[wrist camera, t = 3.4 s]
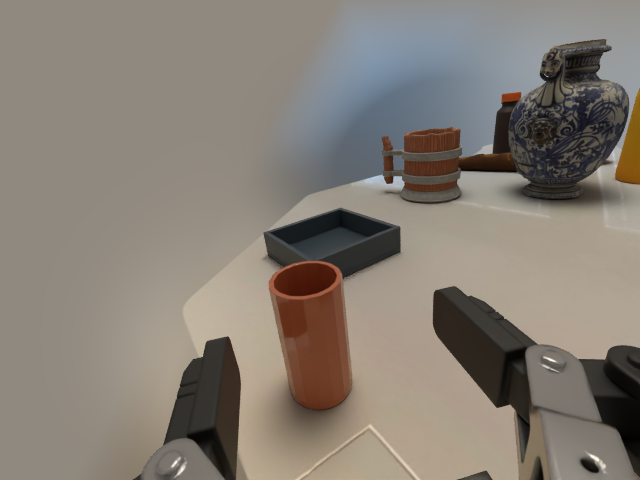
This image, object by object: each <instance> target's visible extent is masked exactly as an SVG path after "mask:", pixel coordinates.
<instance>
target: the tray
mask: <svg viewBox="0 0 640 480" xmlns="http://www.w3.org/2000/svg"><path fill="white" fill-rule="evenodd" d="M264 238H265V242H266V247H267V252H268V255H269V256H270V257H272V258H273V259H274V260H276V261H277V262H278V263H279V264H281V265H282V266H283V267H286V266H289V265H291V264H294V263H299V262H304V261H322V262H327V263H331V264H333V265H334V266H336V267H338V268H339V270H340V271H341V273H342V278H343V277H345V276H348V275H350V274H352V273H354V272H356V271H358V270H361V269H363V268H365V267H367V266H369V265H372V264H374V263H376V262H378V261H380V260H383V259H385V258H387V257H389V256H391V255H393V254H396V253H398V252H400V227H399V226H396V225H393V224H390V223H387V222H383V221H380V220H377V219H374V218H371V217H368V216H365V215H362V214H359V213H355V212H352V211H349V210H346V209H343V208H338V209H335V210H332V211H329V212H326V213H323V214H320V215H317V216H314V217H311V218H308V219H304V220H301V221H298V222H295V223H292V224H289V225H286V226H283V227H280V228H277V229H273V230H270V231H267V232H264Z"/></svg>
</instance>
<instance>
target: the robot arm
mask: <svg viewBox="0 0 640 480" xmlns="http://www.w3.org/2000/svg"><path fill="white" fill-rule="evenodd" d="M433 327H434V330H435V332H436V335H437V336H438V338H439V339H440V340H441V341H442V343H443V344H444V345H445V346H446V347H447V349H448V350H449V351H450V352H451V353H452V355H453V356H454V357H455V358H456V359H457V361H458V362H459V363H460V364H461V365H462V367H463V368H464V369H465V370H466V371H467V373H468V374H469V375H470V376H471V377H472V379H473V380H474V381H475V382H476V383H477V385H478V386H479V387H480V388H481V389H482V391H483V392H484V393H485V394H486V395H487V397H488V398H489V399H490V400H491V401H492V403H493V404H494V405H495V406H496V407H497V408H499V407H503V406H506V405H509V404H510V405H511V406H512V407H513V408H514V409H515V413H514V422H515V434H516V445H517V457H518V469H519V480H637V478H636V475H635V473H636V474H637V475H638V476H639V477H640V348H637V347H632V346H624V345H621V346H614V347H612V348H610V349H609V350H608V353H607V356H606V359H605V360H597V359H577V358H576V357H575V356H573V355H572V354H570V353H569V352H567V351H565V350H563V349H560V348H558V347H555V346H550V345H541V344H540V345H538V344H537V343H535V342H534V341H533V340H532V339H530V338H529V337H528V336H527V335H525V334H524V333H523V332H522V331H520V330H519V329H518V328H517V327H515V326H514V325H513V324H512V323H510V322H509V321H508V320H507V319H504V317H503V316H502V315H500V314H499V313H498V312H495V310H494V309H493V308H492V307H490V306H489V305H488V304H487V303H485V302H484V301H482V300H479V299H477V298H475V297H473V296H467V295H465V294H464V293H463V292H462V291H461V290H459V289H458V288H457V287H455V286H453V287H448V288H444V289H439V290H436V291H435V292H434V298H433ZM240 390H241V380H240V372H239V368H238V364H237V361H236V358H235V354H234V351H233V348H232V344H231V341H230V338H229V337H228V336H227V337H223V338H219V339H214V340H210V341H207V342H206V345H205V349H204V354H203V357H201V358H197V359H193V360H192V362H191V363H190V364H189V366H188V367H187V368H186V370H185V371H184V373H183V376H182V380H181V384H180V388H179V391H178V394H177V399H176V402H175V405H174V409H173V412H172V416H171V419H170V423H169V427H168V430H167V434H166V437H165V441H164V444H163V446H162V447H161V448H159V449H158V450H157V451H156V452H155V453H154V454H153V456H151V457H150V459H149V461H148V462H147V463H146V465H145V466H144V469H143V471H142V474H140V475H139V476H138V477H136V478H135V479H133V480H236V467H237V448H238V429H239V409H240ZM634 472H635V473H634ZM458 480H492V478H491V477H490V475H489V474H488V472H487V471H483V472H480V473H477V474H474V475H471V476H468V477H465V478H461V479H458Z"/></svg>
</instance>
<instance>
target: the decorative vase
mask: <svg viewBox="0 0 640 480" xmlns="http://www.w3.org/2000/svg"><path fill="white" fill-rule="evenodd" d="M611 49H612V47H611V46H609V45H606V40H605V39H601V40H591V41H584V42H577V43H571V44H565V45H561V46H554V47H553V48H552V49H550V50H549V52H548V53H546V54H545V55H544V57H543V61H542V65H541V70H540V76H541V78H542V79H543V80H544V81H547V82H546V83H545V84H543V85H542V86H540V87H538V88H536V89H534V90H532V91H531V92H529V93H528V94H526V95H525V96H524V97H522V98H521V99H520V100H519V101H518V103H517V104H516V106H515V107H514V109H513V111H512V114H511V117H510V122H509V146H510V151H511V154H512V158H513V160H514V163H515V167H516V170H517V173H519V174H521V175H522V176H523V177H524V178H526V179H528V180H529V181H531V184H528V185H526V186H525V187H524V188H523V189H522V193H523V194H525V195H527V196H530V197H535V198H543V199H569V198H575V197H578V196H580V195H582V189H581V188H580V187H579V186H577V185H575V184H576V183H577V182H579V181H581V180H583V179H585V178H586V177H588V176H589V175H591V174H592V173H593V172H594V171H596V170H597V169H598V168H599V167H600V166H601V165H602V164H603V162H604V161H605V160H606V159H607V157H608V156H609V155H610V154H611V152H612V151H613V149H614V148H615V146H616V145H617V143H618V141H619V139H620V137H621V135H622V133H623V131H624V128H625V125H626V122H627V118H628V112H629V98H628V95H627V93H626V91H625V89H624V88H623V87H622V86H620V85H619V84H617V83H614V82H611V81H608V80H601V79H599V77H598V76H597V75H596V72H597V71H598V70H599V69H600V64H599V63H600V58H601V56H602V54H603V53H604V52H607V51H609V50H611ZM544 74H545V75H546V76H549V77H546V76H545V75H544Z"/></svg>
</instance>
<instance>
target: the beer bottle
mask: <svg viewBox="0 0 640 480" xmlns="http://www.w3.org/2000/svg"><path fill="white" fill-rule="evenodd" d="M615 177H616V179H617V180H619V181H623V182H628V183H635V184H640V89H639V91H638V93H637V97H636V100H635V104H634V108H633V111H632V115H631V119H630V123H629V126H628V130H627V134H626V137H625V141H624V145H623V148H622V152H621V156H620V159H619V163H618V166H617V169H616V174H615Z"/></svg>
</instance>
